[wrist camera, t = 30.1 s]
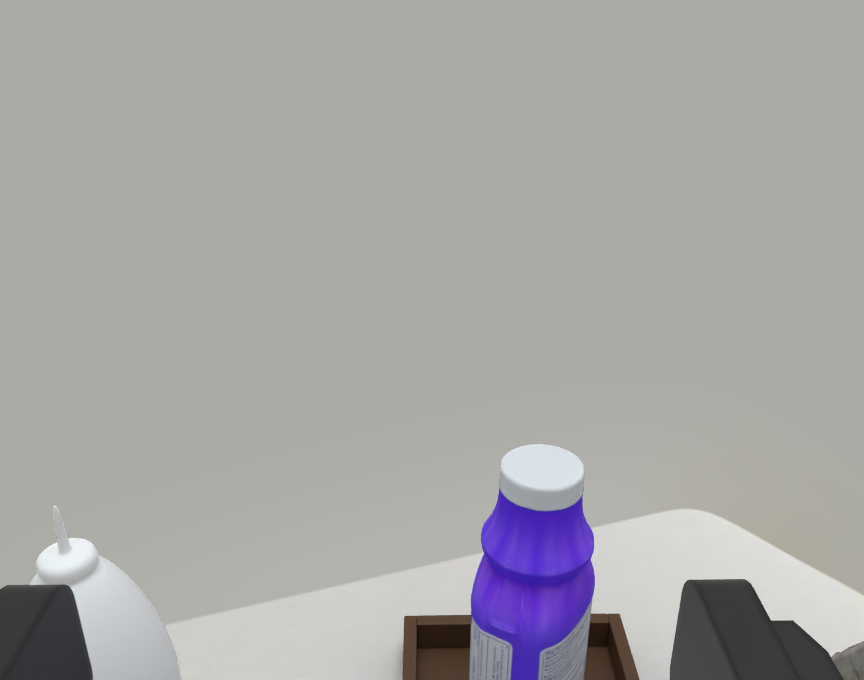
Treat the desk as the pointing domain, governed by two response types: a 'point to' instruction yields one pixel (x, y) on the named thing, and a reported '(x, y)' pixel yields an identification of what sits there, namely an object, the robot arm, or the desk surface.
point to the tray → (451, 634)
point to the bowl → (851, 662)
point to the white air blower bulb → (109, 611)
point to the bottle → (534, 572)
